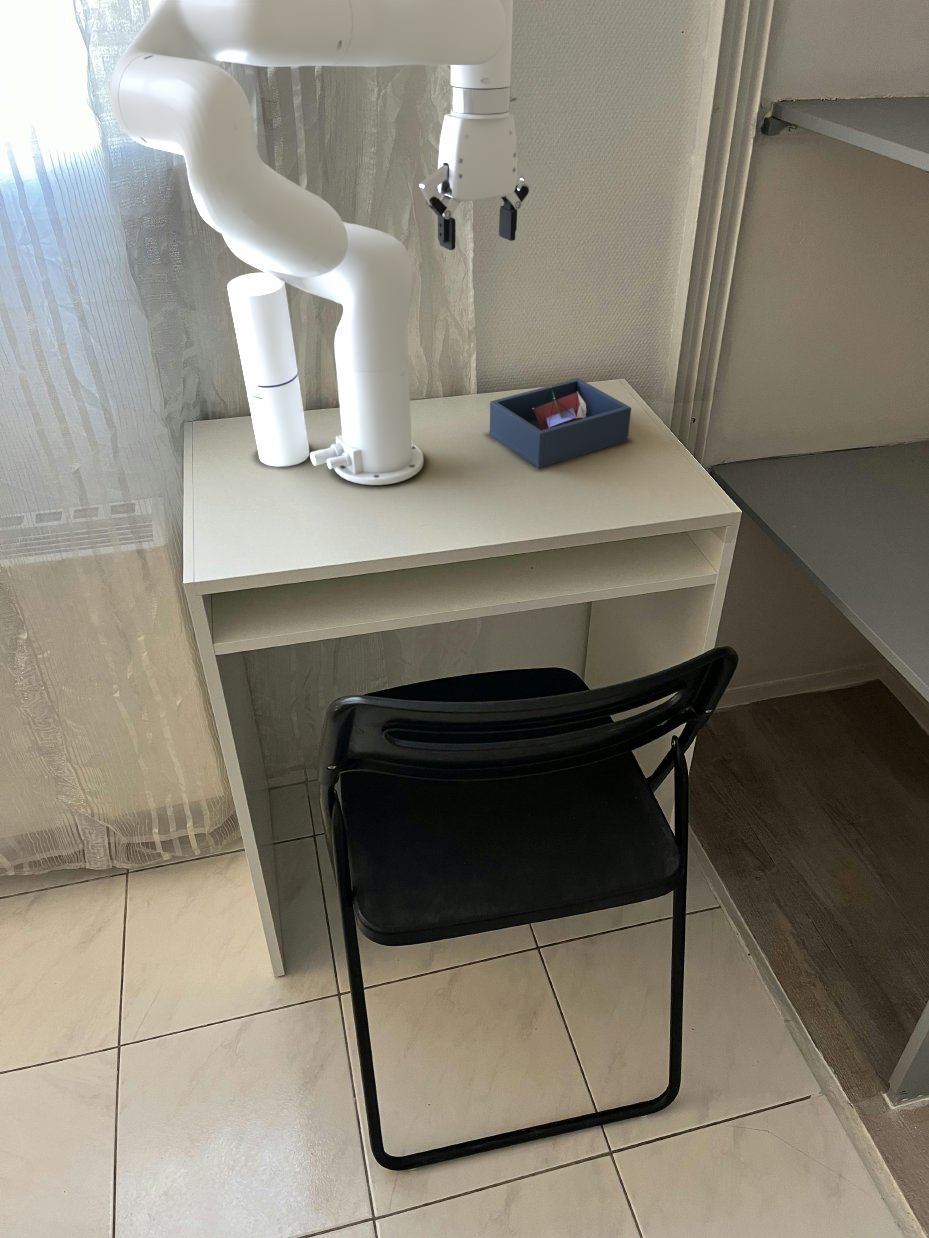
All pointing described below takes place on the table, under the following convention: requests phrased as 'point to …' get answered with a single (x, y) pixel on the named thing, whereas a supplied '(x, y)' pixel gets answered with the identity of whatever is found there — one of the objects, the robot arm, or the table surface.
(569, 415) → the geometric puzzle
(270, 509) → the table surface
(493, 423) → the bin
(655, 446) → the table surface
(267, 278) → the cylindrical container
